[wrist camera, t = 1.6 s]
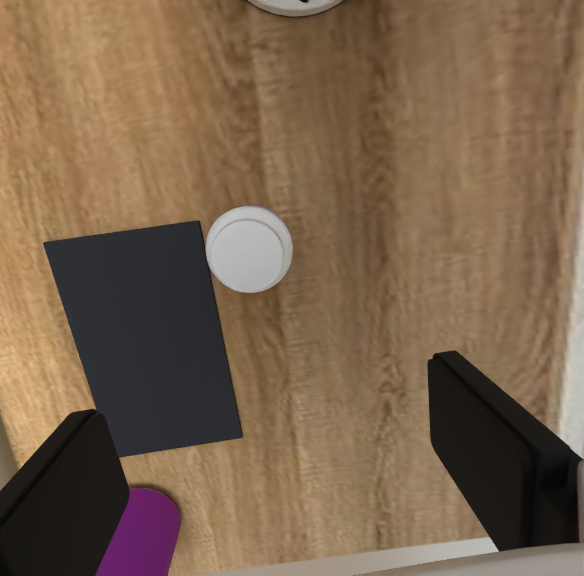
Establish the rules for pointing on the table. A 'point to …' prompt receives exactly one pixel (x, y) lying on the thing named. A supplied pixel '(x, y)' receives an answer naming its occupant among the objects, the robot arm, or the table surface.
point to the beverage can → (143, 536)
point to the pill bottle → (249, 249)
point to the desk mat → (148, 335)
